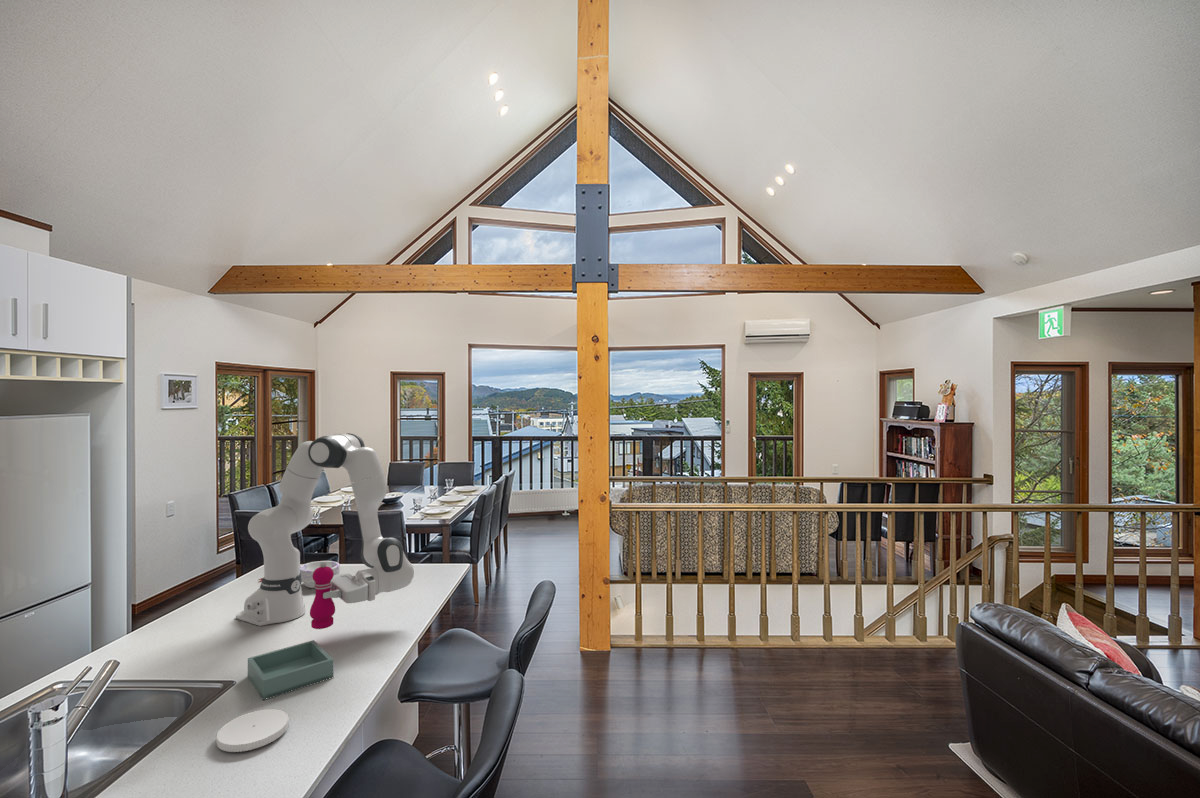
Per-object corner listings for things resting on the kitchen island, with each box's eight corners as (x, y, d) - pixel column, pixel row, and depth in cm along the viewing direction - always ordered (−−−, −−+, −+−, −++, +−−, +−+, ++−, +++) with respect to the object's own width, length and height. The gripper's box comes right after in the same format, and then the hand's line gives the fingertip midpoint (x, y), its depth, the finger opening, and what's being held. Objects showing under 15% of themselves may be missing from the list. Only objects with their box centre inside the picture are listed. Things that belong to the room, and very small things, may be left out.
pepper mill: (340, 622, 181) (341, 560, 180) (322, 631, 174) (323, 566, 174) (322, 619, 183) (323, 557, 183) (304, 627, 176) (305, 563, 176)
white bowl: (347, 582, 235) (347, 563, 235) (312, 593, 222) (312, 573, 222) (325, 576, 243) (325, 558, 243) (290, 586, 230) (290, 567, 230)
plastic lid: (214, 733, 130) (214, 722, 130) (283, 713, 139) (283, 702, 139) (218, 765, 119) (218, 753, 119) (293, 740, 128) (293, 729, 128)
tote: (247, 676, 156) (247, 658, 156) (313, 656, 168) (313, 640, 168) (263, 700, 144) (263, 680, 144) (333, 677, 156) (333, 659, 156)
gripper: (353, 566, 195) (309, 574, 185) (376, 581, 180) (330, 591, 170) (352, 584, 195) (309, 594, 185) (376, 601, 180) (330, 612, 170)
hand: (319, 593), depth 178 cm, fingers closed on pepper mill, 4 cm apart
